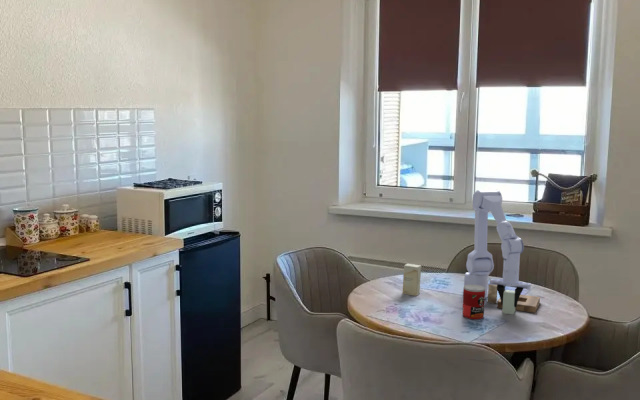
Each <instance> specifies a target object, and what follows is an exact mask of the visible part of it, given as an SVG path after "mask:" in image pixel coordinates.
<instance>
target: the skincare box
mask: <svg viewBox="0 0 640 400" xmlns="http://www.w3.org/2000/svg"><path fill="white" fill-rule="evenodd" d="M421 271H422V265H421V264H414V263H405V264H404V265H403V277H402V278H403V279H402V281H403V282H402V294H403V295H409V296H413V297H417V296H418V295H419V294H420V293H421V292H420V291H421V275H422V272H421Z"/></svg>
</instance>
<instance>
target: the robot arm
mask: <svg viewBox="0 0 640 400" xmlns="http://www.w3.org/2000/svg"><path fill="white" fill-rule="evenodd" d="M502 202H503V195H502V193H501V191H500V190H498V189H495V190H475V191H474V193H473V195H472V209H473V210H474V240H473V241H474V245H473V246H474V247H473V248H474V250H472V251H471V252H469V253H468V254H467V259H466V264H465V267H466V270H467V271H468V272H465V274H464V279H463V287H464V286H465V285H469V284H474V285H480V286H483V287H485V299H488V284H490V285H497V294H498V295H499V298H500V299H501V305H503V292H504V291H505V290H506V287H508V288H515V289H514V291H515V302H514V307H517V302H518V299H519V297H520V294H521V295H522V293H523V291H524V290H525V289H526V290H528V291H529V290H530V291H531V289H532V284H531V283H529V282H524V281H520V280H519V278H520V277H519V276H520V265H521V264H520V263H521V262H520V261H521V260H520V258H521V254H522V253H523V252H524V250H525V245H524V244H525V243H524V241H523V239H522V238H521V237H519V236H518V235H517V234H516V232H515V229H514V227H513V225H512V223H511V222H510V221H508V220H507V218H506V215H505V211H504V209H503V207H502V204H503V203H502ZM489 212H490V213H491V215H492V217H493V219H494V221H495V222H496V224H497V225H496V227H495V228H496V231H497V234H498V237H499V238H500V240H501V241H500V242H501V245H500V249H501V253H502V255H501V256H502V258H503V262H502V263H503V265H502V266H503V267H502V278H490V280H489V275H491V273H492V272H493V270H494V268H495V267H494V266H495V263H494V260H493V254H492V253H491V252H489V251H488V225H489V223H488V220H489V219H488V217H489Z"/></svg>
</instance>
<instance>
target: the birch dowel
mask: <svg viewBox="0 0 640 400" xmlns="http://www.w3.org/2000/svg"><path fill="white" fill-rule="evenodd" d="M497 301H498V291H497V285H490V283H488V296H487V304H488V303H489V304H497Z"/></svg>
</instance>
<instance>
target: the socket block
mask: <svg viewBox="0 0 640 400" xmlns="http://www.w3.org/2000/svg"><path fill="white" fill-rule="evenodd" d="M540 300H541V297H540V296H535V295H529V294H528V295H527V294H522V293H521V294H520V297H519V299H518V302H517V307H515V311H519V312H520V311H521V312H527V313H528V312H529V313H535V314H536V312H537V310H538V308H539V305H540V302H541V301H540ZM496 307H497V308H499V309H503V305H501V299H500V297H499V298H498V299H497V303H496Z"/></svg>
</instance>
